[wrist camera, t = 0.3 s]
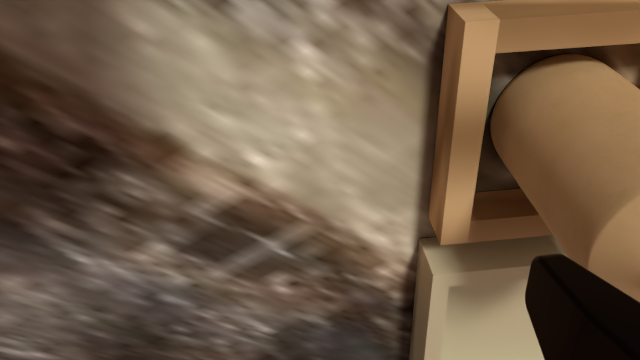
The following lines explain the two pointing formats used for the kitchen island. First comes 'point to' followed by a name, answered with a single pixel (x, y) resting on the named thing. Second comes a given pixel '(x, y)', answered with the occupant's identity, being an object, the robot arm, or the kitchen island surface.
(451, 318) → the parts tray
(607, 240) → the candle
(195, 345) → the kitchen island surface
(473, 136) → the tan shallow square box
